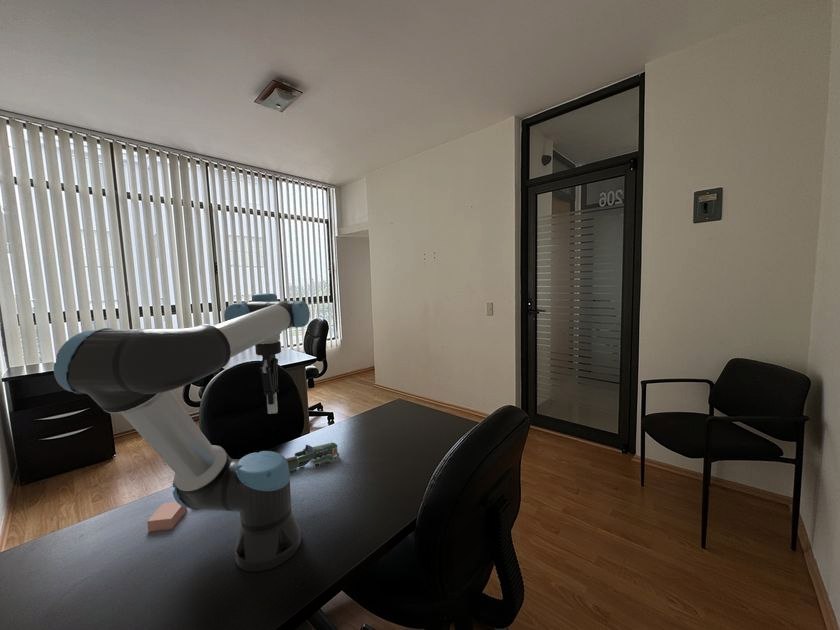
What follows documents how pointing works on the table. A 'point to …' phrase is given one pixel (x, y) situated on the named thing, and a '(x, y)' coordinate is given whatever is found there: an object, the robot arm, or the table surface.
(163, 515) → the orange triangular block
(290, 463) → the hoverbike
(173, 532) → the table surface
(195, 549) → the table surface
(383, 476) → the table surface
